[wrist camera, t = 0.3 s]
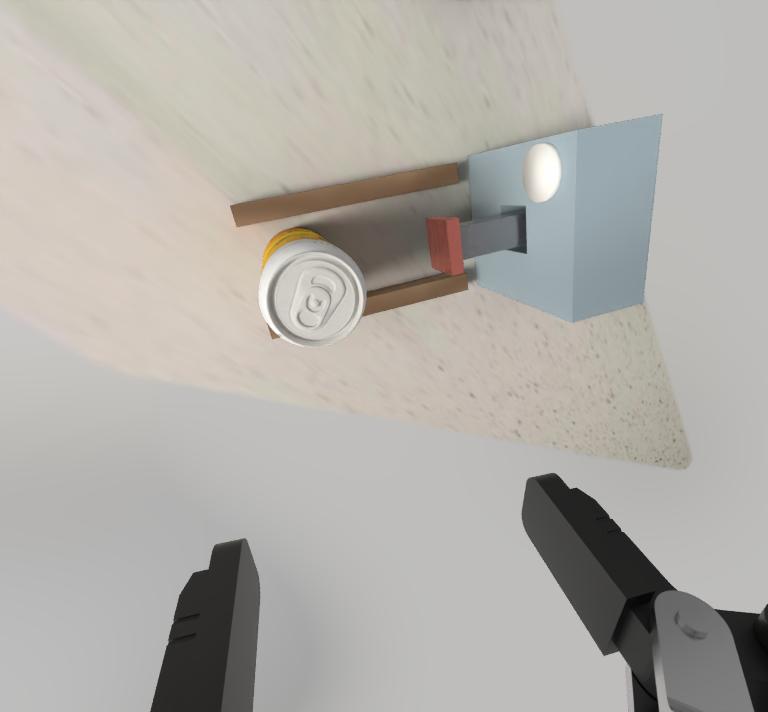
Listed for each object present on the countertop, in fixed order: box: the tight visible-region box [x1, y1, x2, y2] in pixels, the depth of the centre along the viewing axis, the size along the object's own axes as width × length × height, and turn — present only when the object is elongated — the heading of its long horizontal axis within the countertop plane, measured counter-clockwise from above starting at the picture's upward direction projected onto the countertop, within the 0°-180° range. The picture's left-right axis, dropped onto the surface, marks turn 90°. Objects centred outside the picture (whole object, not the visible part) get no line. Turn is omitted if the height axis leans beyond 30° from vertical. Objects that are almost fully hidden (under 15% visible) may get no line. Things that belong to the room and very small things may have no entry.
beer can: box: [259, 228, 367, 347], centre depth 28 cm, size 6×6×15 cm
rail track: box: [230, 163, 468, 339], centre depth 35 cm, size 11×19×2 cm, turn 101°
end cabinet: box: [467, 114, 663, 323], centre depth 32 cm, size 12×6×14 cm, turn 11°
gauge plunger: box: [426, 208, 527, 276], centre depth 31 cm, size 4×10×4 cm, turn 101°
